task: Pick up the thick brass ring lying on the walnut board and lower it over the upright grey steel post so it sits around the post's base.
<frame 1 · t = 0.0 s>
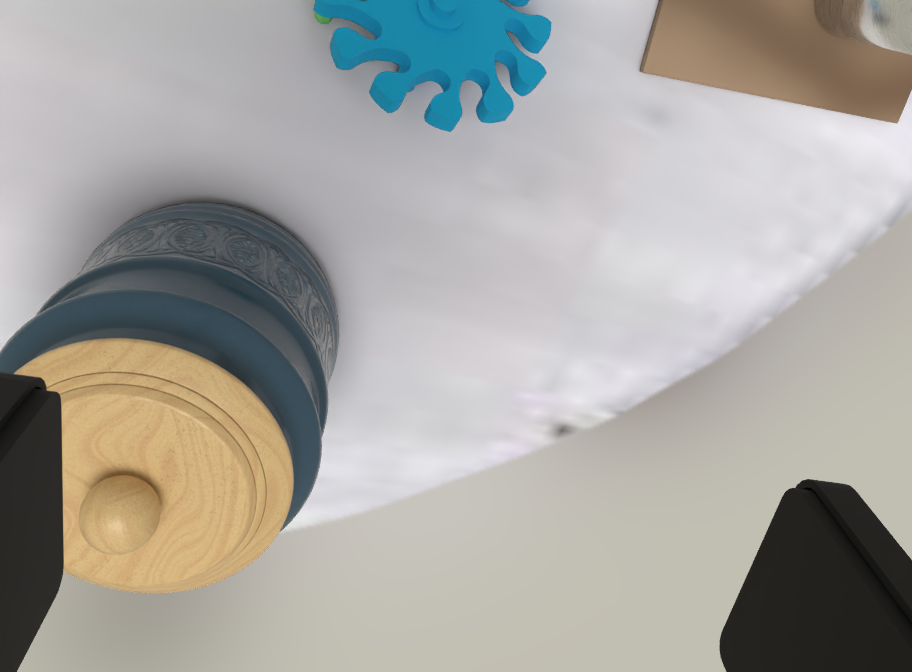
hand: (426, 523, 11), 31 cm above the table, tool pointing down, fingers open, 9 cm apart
gear: (423, 3, 37), on the table
canister: (216, 314, 43), on the table
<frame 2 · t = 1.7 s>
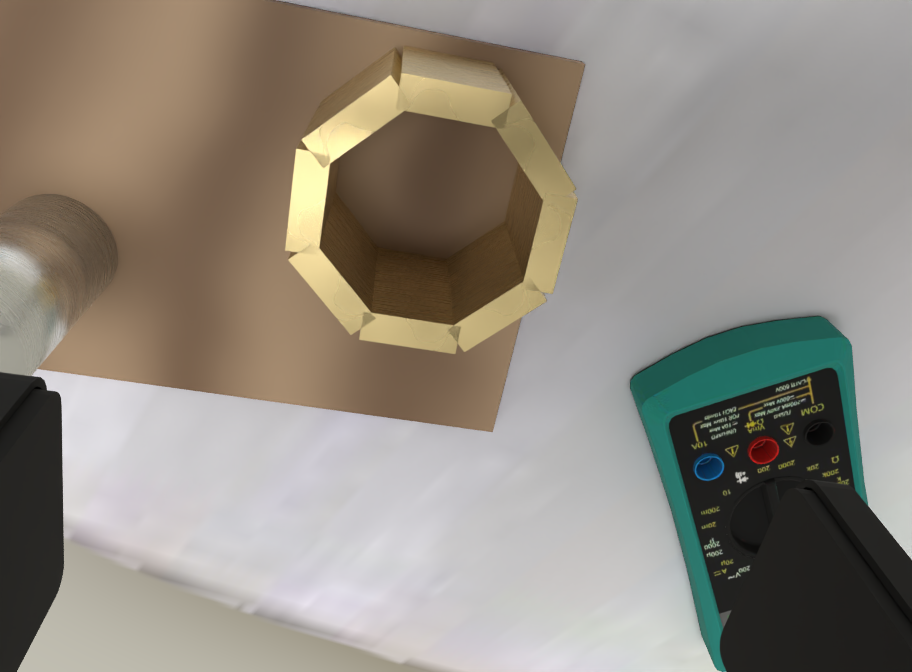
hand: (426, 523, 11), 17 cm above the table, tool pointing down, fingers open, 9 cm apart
board: (228, 210, 26), on the table
digital multimeter: (751, 483, 33), on the table
piston post: (66, 242, 27), resting on board
ring: (427, 172, 25), point 1 cm above the table, touching board
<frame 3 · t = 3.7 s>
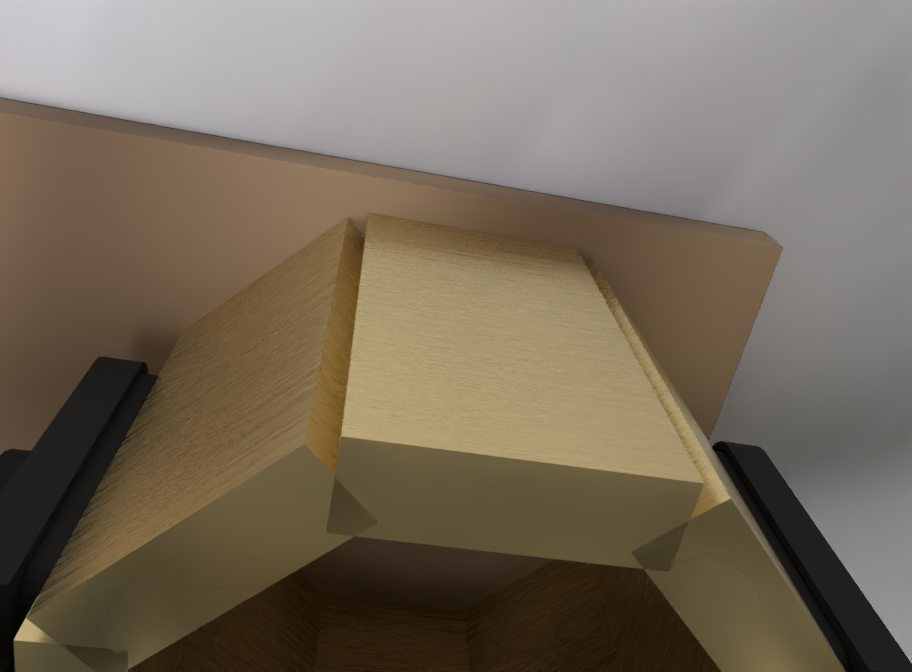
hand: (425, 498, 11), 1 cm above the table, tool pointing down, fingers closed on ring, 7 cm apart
board: (9, 524, 13), on the table
ring: (424, 462, 12), point 1 cm above the table, touching board, gripper
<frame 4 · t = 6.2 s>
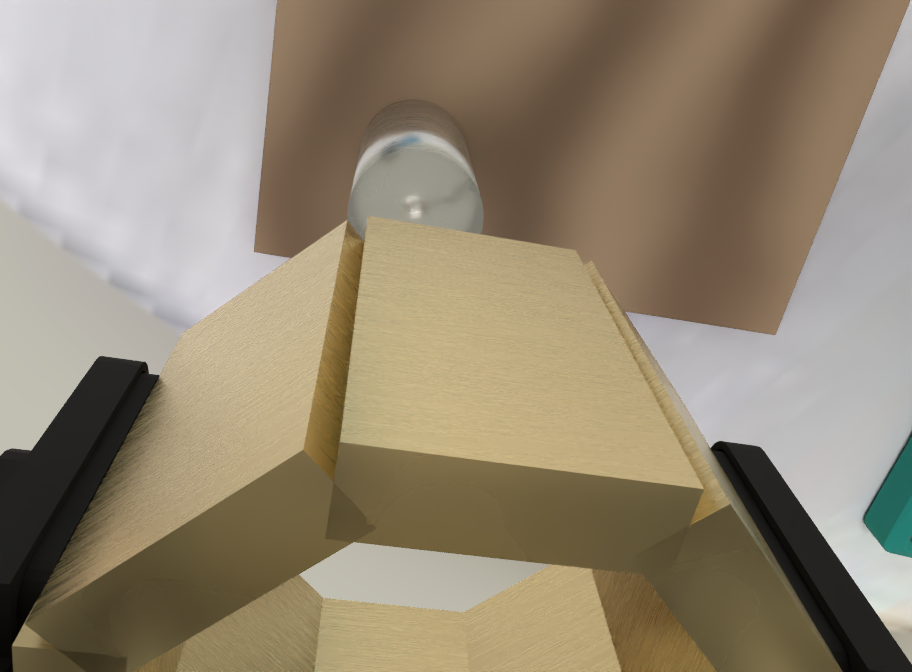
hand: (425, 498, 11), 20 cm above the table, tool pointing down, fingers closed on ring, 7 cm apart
board: (566, 117, 28), on the table
piston post: (413, 149, 29), resting on board
ring: (424, 465, 12), point 19 cm above the table, touching gripper
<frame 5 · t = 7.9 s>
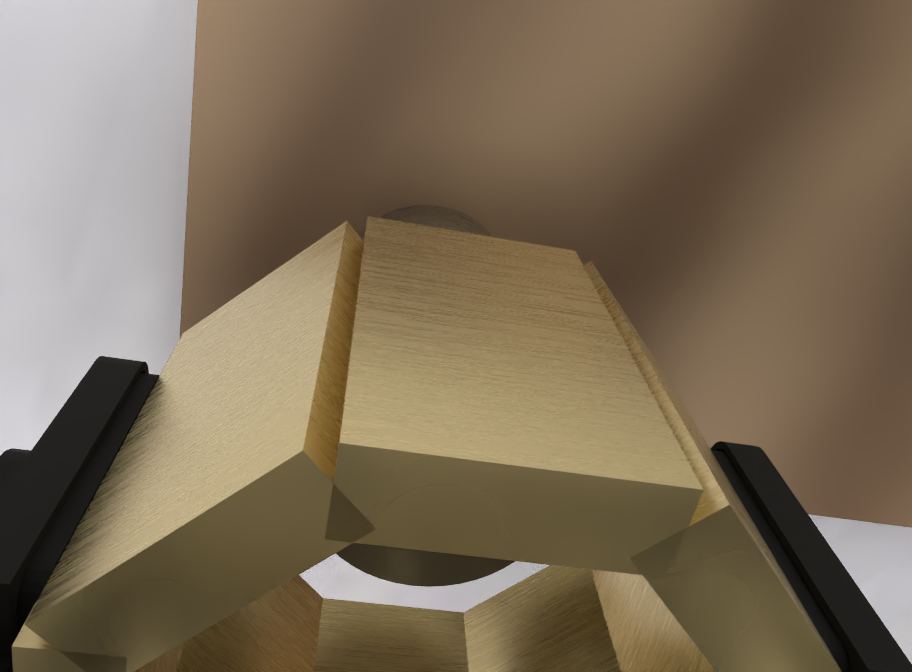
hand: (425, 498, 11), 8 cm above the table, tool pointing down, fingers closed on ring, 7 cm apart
board: (667, 228, 18), on the table
piston post: (424, 276, 18), resting on board
ring: (423, 465, 12), point 7 cm above the table, touching gripper
when the fingers open (4 cm above the table, at t = 9.1 s): ring drops 3 cm, resting on board.
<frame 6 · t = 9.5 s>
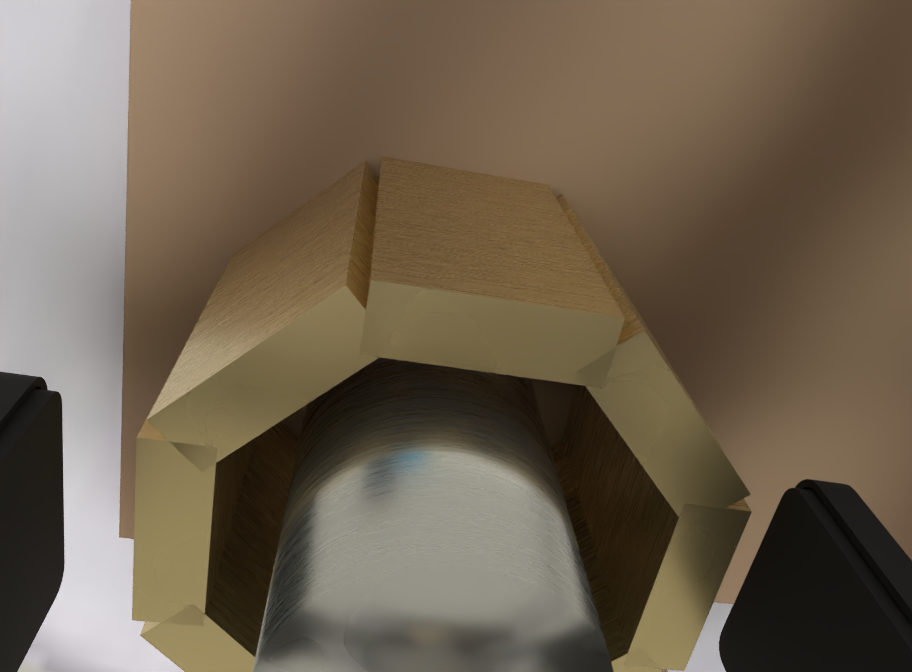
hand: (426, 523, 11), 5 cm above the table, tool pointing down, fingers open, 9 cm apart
board: (714, 294, 15), on the table
piston post: (419, 352, 15), resting on board
ring: (427, 368, 14), point 1 cm above the table, touching board
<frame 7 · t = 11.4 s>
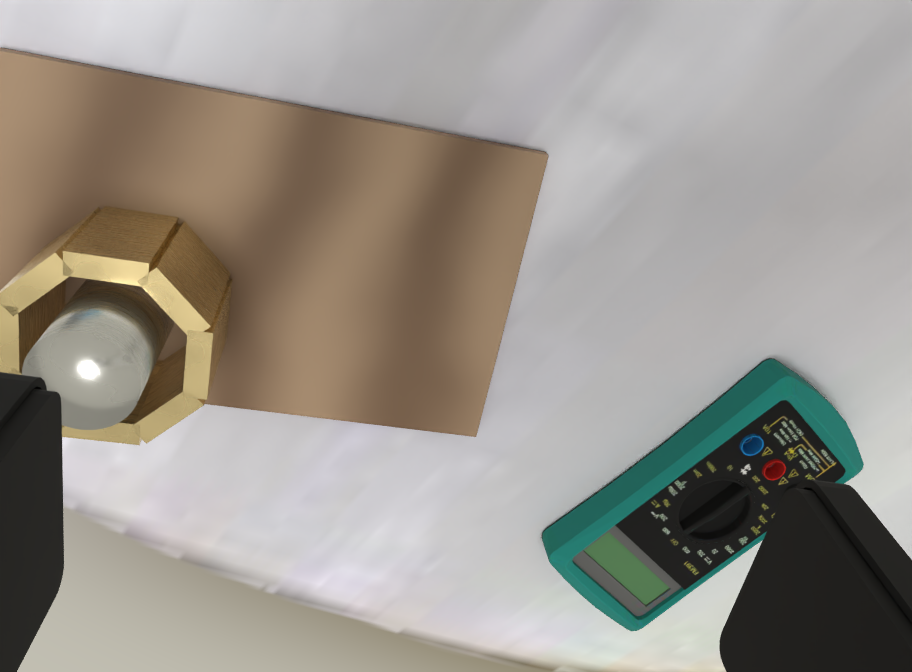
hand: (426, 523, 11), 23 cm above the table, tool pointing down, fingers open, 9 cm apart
board: (269, 264, 33), on the table
digital multimeter: (687, 482, 41), on the table
piston post: (138, 291, 33), resting on board
ring: (137, 296, 33), point 1 cm above the table, touching board
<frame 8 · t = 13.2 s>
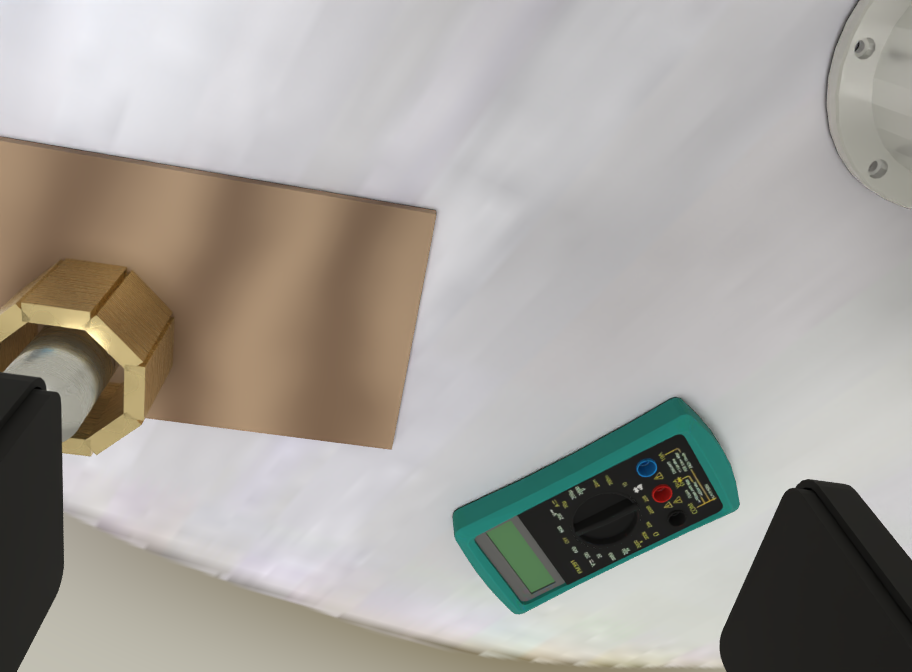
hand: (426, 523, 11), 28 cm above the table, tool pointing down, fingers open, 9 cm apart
board: (206, 304, 40), on the table
digital multimeter: (588, 492, 47), on the table
piston post: (98, 325, 40), resting on board
ring: (97, 331, 39), point 1 cm above the table, touching board
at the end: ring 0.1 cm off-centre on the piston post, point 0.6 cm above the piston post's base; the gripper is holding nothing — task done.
